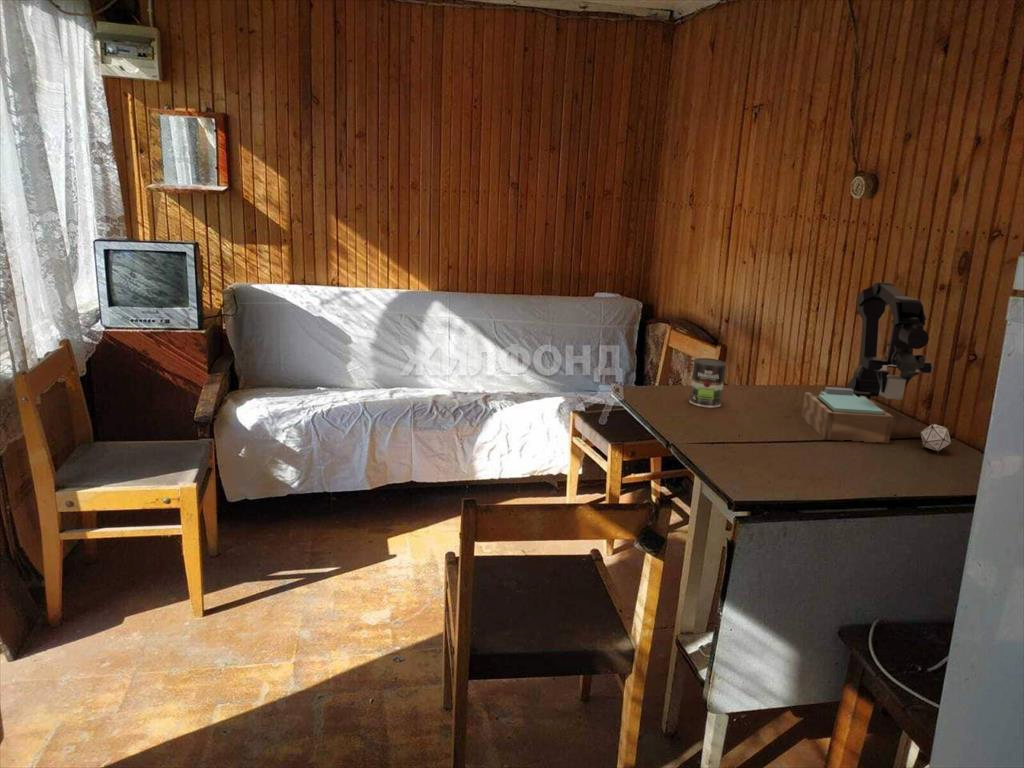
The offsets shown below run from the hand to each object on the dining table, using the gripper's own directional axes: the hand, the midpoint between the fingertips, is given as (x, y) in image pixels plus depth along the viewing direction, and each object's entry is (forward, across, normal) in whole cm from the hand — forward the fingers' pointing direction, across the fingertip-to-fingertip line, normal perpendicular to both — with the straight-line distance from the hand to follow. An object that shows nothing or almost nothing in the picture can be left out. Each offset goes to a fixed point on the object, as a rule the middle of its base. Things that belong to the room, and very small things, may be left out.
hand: (891, 392), depth 233 cm
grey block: (+1, 0, 0) cm, 1 cm away
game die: (+13, +8, -14) cm, 21 cm away
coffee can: (+13, -49, +21) cm, 55 cm away
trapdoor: (+5, -12, +1) cm, 13 cm away
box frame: (+13, -12, +1) cm, 17 cm away
